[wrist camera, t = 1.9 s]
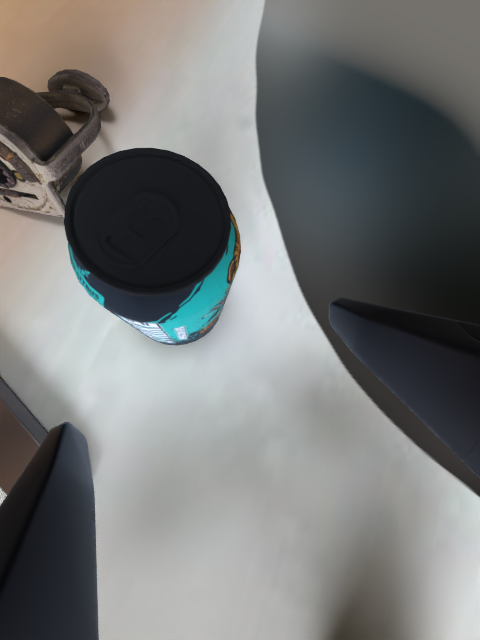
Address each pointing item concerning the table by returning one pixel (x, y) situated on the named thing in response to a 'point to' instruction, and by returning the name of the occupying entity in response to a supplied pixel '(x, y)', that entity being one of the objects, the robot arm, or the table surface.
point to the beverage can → (153, 242)
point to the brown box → (16, 437)
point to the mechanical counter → (45, 139)
